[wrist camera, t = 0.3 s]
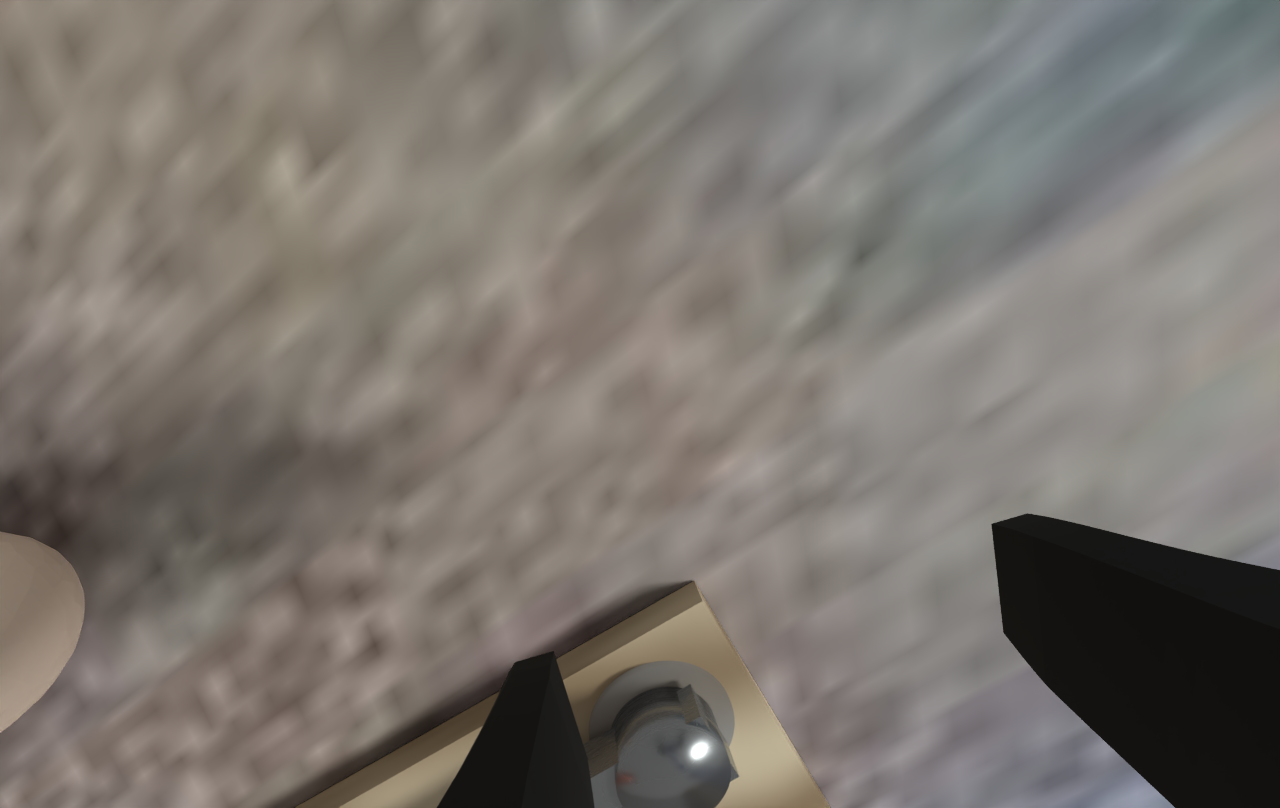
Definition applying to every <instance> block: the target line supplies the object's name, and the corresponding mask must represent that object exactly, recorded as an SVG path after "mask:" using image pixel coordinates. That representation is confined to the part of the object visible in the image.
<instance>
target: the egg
mask: <svg viewBox="0 0 1280 808" xmlns="http://www.w3.org/2000/svg"><path fill="white" fill-rule="evenodd" d="M84 611H85V601H84V591H83V588H82V585H81V583H80V580H79V578H78V575H77V574H76V572H75V570H74V568H73V567H72V565H71V564H70V563H69V562H68V561H67V560H66V559H65V558H64V557H63V556H62V555H61V554H60V553H59V552H58V551H57V550H55V549H53V548H51V547H49V546H47V545H45V544H43V543H41V542H39V541H37V540H35V539H33V538H31V537H26V536H21V535H15V534H10V533H5V532H0V733H1V732H2V731H3V730H5V729H6V728H7V727H9V726H10V725H11V724H13V723H14V722H15V721H16V720H17V719H18V718H19V717H20V716H21V715H23V714H24V713H25V712H26V711H27V710H28V709H29V708H30V707H31V706H32V705H34V704H35V703H36V702H37V701H38V700H39V699H40V698H41V697H42V696H43V694H44V693H45V692H46V691H47V690H48V689H49V688H50V686H51V685H52V684H53V683H54V681H55V680H56V678H57V677H58V675H59V674H60V672H61V671H62V669H63V668H64V666H65V665H66V663H67V662H68V660H69V659H70V657H71V655H72V654H73V652H74V650H75V647H76V645H77V642H78V640H79V636H80V632H81V628H82V625H83V620H84Z"/></svg>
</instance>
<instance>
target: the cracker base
mask: <svg viewBox="0 0 1280 808" xmlns="http://www.w3.org/2000/svg"><path fill="white" fill-rule="evenodd" d="M556 661H557V664H558V667H559V670H560V673H561V676H562V679H563V682H564V686H565V689H566V692H567V695H568V698H569V701H570V704H571V708H572V711H573V714H574V717H575V720H576V723H577V726H578V729H579V733H580V736H581V739H582V742H583V744H585V743H587V742H589V741H590V740H592V739H594V738H596V737H597V736H599V735H601V734H603V733H604V732H606V731H608V730H610V729H611V727H612V724H613V721H614V719H615V717H616V716H617V714H618V712H619V711H620V710H621V708H622V707H623V706H624V705H625V704H626V703H627V702H629V701H630V700H631V699H632V698H634V697H636V696H637V695H639V694H641V693H643V692H645V691H648V690H651V689H655V688H660V687H678V688H684V687H686V686H687V685H689V684H691V686H692V688H693V689H694V691H695V692H696V694H698V695H699V696H700V697H702V698H703V699H704V700H705V701H706V702H707V703H708V705H709V706H710V707H711V709H712V711H713V714H714V716H715V719H716V722H717V725H718V728H719V730H720V731H721V733H722V735H723V736H724V738H725V739H726V741H727V743H728V746H729V749H730V752H731V754H732V757H733V760H734V763H735V766H736V769H737V771H738V774H739V777H738V778H736V779H734V780H733V781H731V782H730V784H729V787H728V790H727V792H726V794H725V795H724V797H723V799H722V800H721V801H720V803H719V804H718V805H717V806H716V807H715V808H831V807H830V806H829V804H828V802H827V801H826V799H825V797H824V796H823V794H822V792H821V791H820V789H819V787H818V786H817V784H816V782H815V781H814V779H813V778H812V776H811V774H810V773H809V771H808V769H807V768H806V766H805V764H804V763H803V761H802V759H801V758H800V756H799V754H798V753H797V751H796V749H795V748H794V746H793V744H792V743H791V741H790V739H789V738H788V736H787V734H786V733H785V731H784V729H783V728H782V726H781V724H780V723H779V721H778V719H777V718H776V716H775V714H774V713H773V711H772V709H771V708H770V706H769V704H768V703H767V701H766V699H765V698H764V696H763V694H762V693H761V691H760V689H759V688H758V686H757V684H756V683H755V681H754V679H753V678H752V676H751V674H750V673H749V671H748V669H747V668H746V666H745V665H744V663H743V661H742V660H741V658H740V656H739V655H738V653H737V651H736V650H735V648H734V646H733V645H732V643H731V641H730V640H729V638H728V636H727V635H726V633H725V631H724V630H723V628H722V626H721V625H720V623H719V621H718V620H717V618H716V616H715V615H714V613H713V611H712V610H711V608H710V606H709V605H708V603H707V601H706V600H705V598H704V596H703V595H702V593H701V591H700V590H699V588H698V586H697V585H696V583H695V581H693V582H691V583H689V584H687V585H686V586H684V587H682V588H680V589H679V590H677V591H675V592H673V593H672V594H670V595H668V596H666V597H665V598H663V599H661V600H659V601H658V602H656V603H654V604H652V605H650V606H649V607H647V608H645V609H643V610H642V611H640V612H638V613H636V614H635V615H633V616H631V617H629V618H628V619H626V620H624V621H622V622H621V623H619V624H617V625H615V626H614V627H612V628H610V629H608V630H606V631H605V632H603V633H601V634H599V635H598V636H596V637H594V638H592V639H591V640H589V641H587V642H585V643H584V644H582V645H580V646H578V647H577V648H575V649H573V650H571V651H569V652H568V653H566V654H564V655H562V656H561V657H559V658H557V659H556ZM499 692H500V691H499ZM499 692H497V693H496V694H494V695H492V696H490V697H488V698H487V699H485V700H483V701H481V702H480V703H478V704H476V705H474V706H473V707H471V708H469V709H467V710H466V711H464V712H462V713H460V714H459V715H457V716H455V717H453V718H452V719H450V720H448V721H446V722H444V723H443V724H441V725H439V726H437V727H436V728H434V729H432V730H430V731H429V732H427V733H425V734H423V735H422V736H420V737H418V738H416V739H415V740H413V741H411V742H409V743H407V744H406V745H404V746H402V747H400V748H399V749H397V750H395V751H393V752H392V753H390V754H388V755H386V756H385V757H383V758H381V759H379V760H378V761H376V762H374V763H372V764H371V765H369V766H367V767H365V768H363V769H362V770H360V771H358V772H356V773H355V774H353V775H351V776H349V777H348V778H346V779H344V780H342V781H341V782H339V783H337V784H335V785H334V786H332V787H330V788H328V789H326V790H325V791H323V792H321V793H319V794H318V795H316V796H314V797H312V798H311V799H309V800H307V801H305V802H304V803H302V804H300V805H298V806H297V807H295V808H437V806H438V805H439V803H440V801H441V800H442V798H443V796H444V795H445V793H446V791H447V790H448V788H449V786H450V785H451V783H452V781H453V780H454V778H455V776H456V775H457V773H458V771H459V769H460V768H461V766H462V764H463V762H464V760H465V759H466V757H467V755H468V753H469V751H470V749H471V747H472V745H473V744H474V742H475V740H476V738H477V736H478V734H479V732H480V731H481V729H482V727H483V725H484V723H485V721H486V719H487V717H488V715H489V713H490V711H491V709H492V707H493V705H494V703H495V701H496V699H497V696H498V694H499Z"/></svg>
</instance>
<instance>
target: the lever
mask: <svg viewBox="0 0 1280 808" xmlns="http://www.w3.org/2000/svg"><path fill="white" fill-rule="evenodd" d="M583 745H584V748H585V751H586V755H587V758H588V764H589V771H590V778H591V785H592V792H593V799H594V807H595V808H715V807H716V806H717V805H718V804H719V803H720V801H721V800H722V799H723V797H724V795H725V794H726V792H727V790H728V787H729V784H730V782H731V781H733V780H734V779H736V778H738V777H739V774H738V771H737V769H736V766H735V763H734V760H733V757H732V754H731V752H730V749H729V746H728V743H727V741H726V739H725V738H724V736H723V735H722V733H721V731H720V730H719V728H718V725H717V722H716V719H715V716H714V714H713V711H712V709H711V707H710V706H709V705H708V703H707V702H706V701H705V700H704V699H703V698H702V697H700V696H699V695H698V694H696V692H695V691H694V689H693V688H692V686H691V684H689V685H687V686H686V687H684V688H678V687H660V688H655V689H651V690H648V691H645V692H643V693H641V694H639V695H637V696H636V697H634V698H632V699H631V700H630V701H629V702H627V703H626V704H625V705H624V706H623V707H622V708H621V710H620V711H619V712H618V714H617V716H616V717H615V719H614V721H613V724H612V727H611V729H610V730H608V731H606V732H604V733H603V734H601V735H599V736H597V737H596V738H594V739H592V740H590V741H589V742H587V743H585V744H583Z"/></svg>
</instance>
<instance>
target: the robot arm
mask: <svg viewBox="0 0 1280 808" xmlns="http://www.w3.org/2000/svg"><path fill="white" fill-rule="evenodd" d="M992 532H993V541H994V550H995V559H996V569H997V578H998V587H999V596H1000V605H1001V614H1002V623H1003V632H1004V634H1005V635H1006V636H1007V638H1008V639H1009V640H1010V641H1011V643H1012V644H1013V645H1014V647H1015V648H1016V649H1017V650H1018V652H1019V653H1020V654H1021V655H1022V657H1023V658H1024V659H1025V660H1026V662H1027V663H1028V664H1029V665H1030V666H1031V668H1032V669H1033V670H1034V671H1035V672H1036V674H1037V675H1038V676H1039V677H1040V678H1041V679H1042V681H1043V682H1044V683H1045V684H1046V685H1047V686H1048V687H1049V688H1050V689H1051V690H1052V691H1053V692H1054V693H1055V694H1056V695H1057V696H1058V697H1059V698H1060V699H1061V700H1062V701H1063V702H1064V703H1065V704H1066V705H1067V706H1068V707H1069V708H1070V709H1071V710H1072V711H1073V712H1075V713H1076V714H1077V715H1078V716H1079V717H1080V718H1081V719H1082V720H1083V721H1084V722H1085V723H1086V724H1087V725H1088V726H1089V727H1090V728H1091V729H1092V730H1093V731H1094V732H1096V733H1097V734H1098V735H1099V736H1100V737H1101V738H1102V739H1103V740H1104V741H1105V742H1106V743H1107V744H1108V745H1109V746H1110V747H1111V748H1113V749H1114V750H1115V751H1116V752H1117V753H1118V754H1119V755H1120V756H1121V757H1122V758H1123V759H1124V760H1125V761H1126V762H1127V763H1128V764H1130V765H1131V766H1132V767H1133V768H1134V769H1135V770H1136V771H1137V772H1138V773H1139V774H1140V775H1141V776H1142V777H1143V778H1144V779H1145V780H1147V781H1148V782H1149V783H1150V784H1151V785H1152V786H1153V787H1154V788H1155V789H1156V790H1157V791H1158V792H1159V793H1160V794H1161V795H1162V796H1164V797H1165V798H1166V799H1167V800H1168V801H1169V802H1170V803H1171V804H1172V805H1173V806H1174V807H1175V808H1280V570H1276V569H1271V568H1266V567H1261V566H1256V565H1251V564H1246V563H1241V562H1237V561H1232V560H1227V559H1222V558H1217V557H1213V556H1208V555H1204V554H1199V553H1195V552H1191V551H1186V550H1182V549H1178V548H1174V547H1169V546H1165V545H1161V544H1157V543H1153V542H1149V541H1145V540H1141V539H1137V538H1133V537H1129V536H1125V535H1121V534H1117V533H1113V532H1109V531H1105V530H1101V529H1097V528H1093V527H1089V526H1085V525H1081V524H1077V523H1072V522H1068V521H1064V520H1059V519H1055V518H1050V517H1045V516H1039V515H1033V514H1024V515H1021V516H1017V517H1014V518H1010V519H1007V520H1004V521H1000V522H997V523H993V524H992ZM437 808H595V807H594V799H593V792H592V785H591V778H590V771H589V764H588V758H587V755H586V751H585V748H584V745H583V742H582V739H581V736H580V733H579V729H578V726H577V723H576V720H575V717H574V714H573V711H572V708H571V704H570V701H569V698H568V695H567V692H566V689H565V686H564V682H563V679H562V676H561V673H560V670H559V667H558V664H557V661H556V657H555V654H554V651H553V652H549V653H546V654H542V655H539V656H535V657H532V658H528V659H525V660H522V661H518V662H515V663H514V665H513V667H512V668H511V670H510V672H509V674H508V676H507V678H506V680H505V682H504V684H503V686H502V688H501V690H500V692H499V694H498V696H497V699H496V701H495V703H494V705H493V707H492V709H491V711H490V713H489V715H488V717H487V719H486V721H485V723H484V725H483V727H482V729H481V731H480V732H479V734H478V736H477V738H476V740H475V742H474V744H473V745H472V747H471V749H470V751H469V753H468V755H467V757H466V759H465V760H464V762H463V764H462V766H461V768H460V769H459V771H458V773H457V775H456V776H455V778H454V780H453V781H452V783H451V785H450V786H449V788H448V790H447V791H446V793H445V795H444V796H443V798H442V800H441V801H440V803H439V805H438V806H437Z"/></svg>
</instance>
